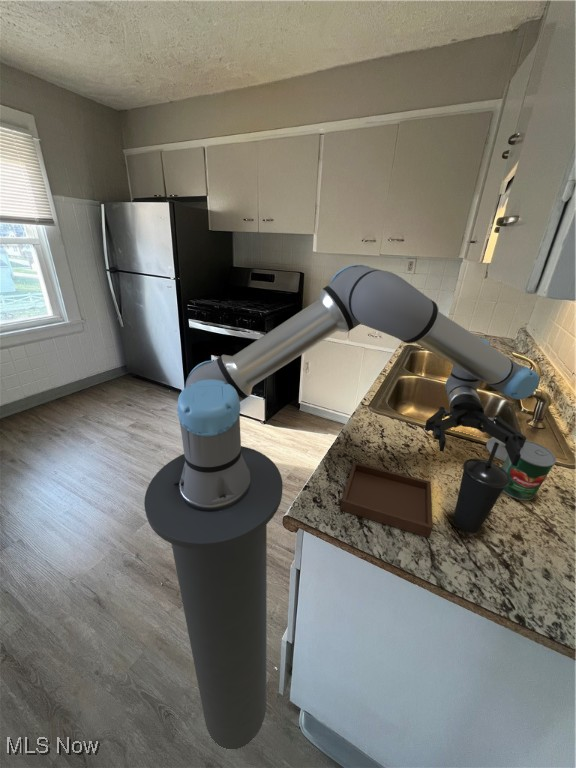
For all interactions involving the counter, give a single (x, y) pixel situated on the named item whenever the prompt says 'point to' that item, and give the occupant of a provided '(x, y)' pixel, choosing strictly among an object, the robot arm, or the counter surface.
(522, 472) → the canned tomato
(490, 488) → the drinking cup
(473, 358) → the robot arm
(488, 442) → the donut
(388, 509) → the tray
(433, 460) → the counter surface
